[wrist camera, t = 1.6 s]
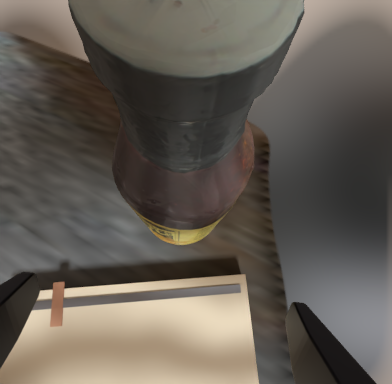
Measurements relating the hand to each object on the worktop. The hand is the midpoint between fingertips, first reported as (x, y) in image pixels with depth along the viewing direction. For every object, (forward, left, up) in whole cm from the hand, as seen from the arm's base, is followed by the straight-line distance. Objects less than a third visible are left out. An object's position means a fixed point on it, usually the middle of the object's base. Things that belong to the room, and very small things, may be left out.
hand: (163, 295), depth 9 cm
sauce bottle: (+6, -1, -13) cm, 14 cm away
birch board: (-5, +4, -13) cm, 14 cm away
